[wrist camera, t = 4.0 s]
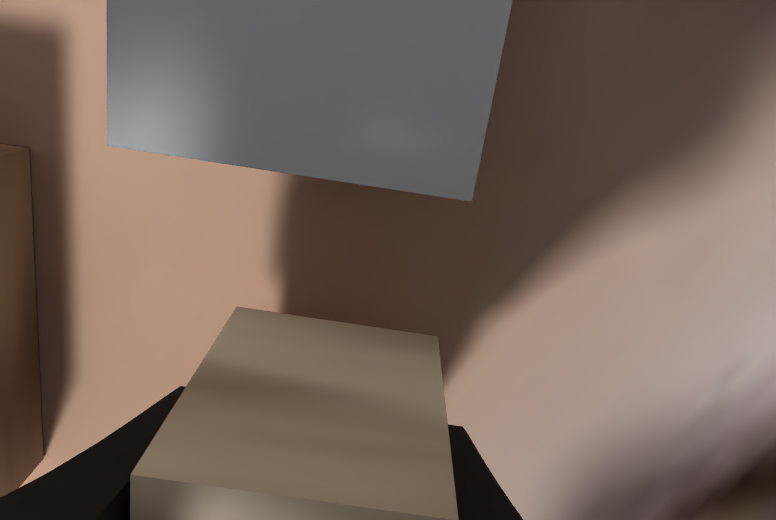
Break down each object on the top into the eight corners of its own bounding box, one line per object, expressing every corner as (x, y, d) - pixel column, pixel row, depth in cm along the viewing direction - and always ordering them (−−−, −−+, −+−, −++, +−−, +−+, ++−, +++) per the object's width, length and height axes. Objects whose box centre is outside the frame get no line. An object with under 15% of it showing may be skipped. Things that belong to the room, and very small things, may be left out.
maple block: (405, 498, 14) (406, 741, 9) (224, 473, 13) (127, 704, 9) (437, 336, 12) (458, 521, 8) (236, 306, 12) (130, 474, 7)
